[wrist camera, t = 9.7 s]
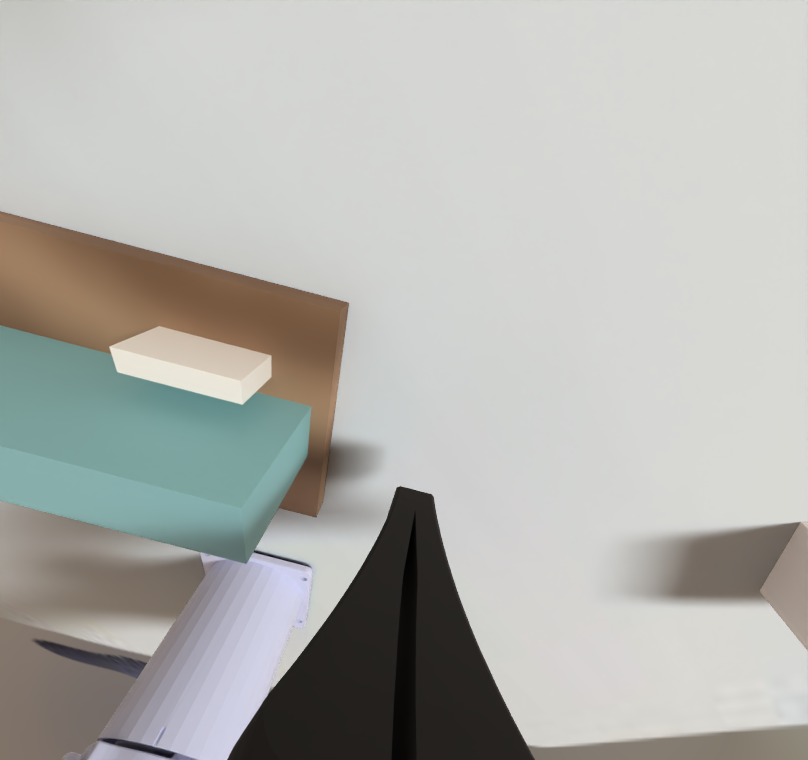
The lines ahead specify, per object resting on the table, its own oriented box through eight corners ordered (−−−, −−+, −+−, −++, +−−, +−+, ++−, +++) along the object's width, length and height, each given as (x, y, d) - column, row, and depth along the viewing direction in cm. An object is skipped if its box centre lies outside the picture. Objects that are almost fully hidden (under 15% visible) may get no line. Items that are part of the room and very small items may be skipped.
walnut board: (322, 502, 17) (316, 517, 17) (-81, 397, 17) (-109, 407, 16) (348, 302, 11) (340, 310, 10) (-276, 139, 11) (-335, 133, 10)
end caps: (272, 475, 15) (249, 509, 14) (-89, 382, 15) (-157, 404, 13) (271, 355, 12) (241, 380, 10) (-201, 232, 12) (-314, 236, 10)
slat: (307, 456, 14) (246, 564, 10) (-22, 370, 14) (-226, 442, 10) (311, 406, 13) (241, 508, 8) (-58, 310, 13) (-320, 363, 8)
